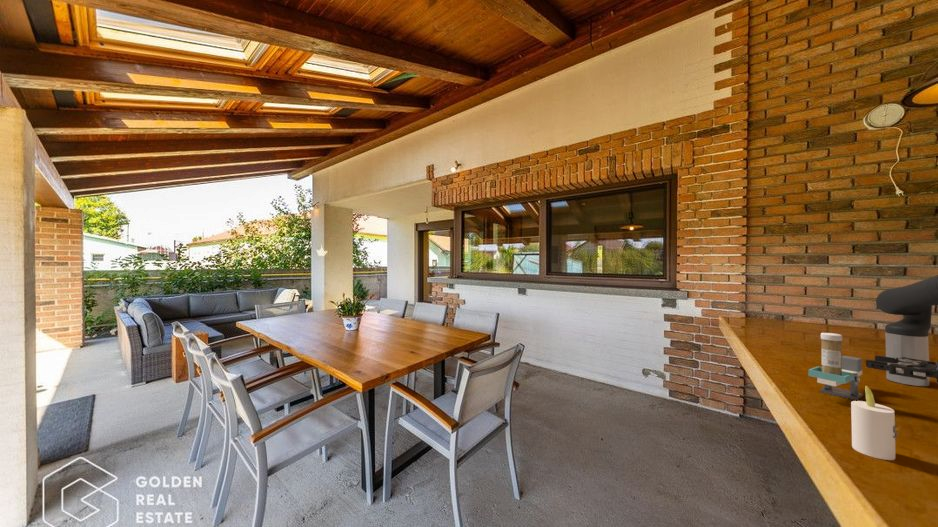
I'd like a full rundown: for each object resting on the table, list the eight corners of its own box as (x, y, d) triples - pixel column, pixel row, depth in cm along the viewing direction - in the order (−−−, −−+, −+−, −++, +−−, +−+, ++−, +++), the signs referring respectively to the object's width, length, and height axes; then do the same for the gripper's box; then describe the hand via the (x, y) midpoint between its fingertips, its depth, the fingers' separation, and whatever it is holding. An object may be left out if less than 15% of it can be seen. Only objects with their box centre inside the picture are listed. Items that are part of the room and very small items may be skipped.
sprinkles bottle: (843, 377, 102) (843, 334, 102) (841, 379, 100) (841, 335, 100) (822, 373, 106) (822, 331, 106) (819, 375, 103) (819, 333, 103)
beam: (836, 370, 117) (836, 354, 117) (871, 376, 110) (871, 359, 110) (808, 381, 104) (808, 363, 105) (845, 389, 97) (845, 370, 97)
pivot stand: (826, 388, 112) (826, 366, 112) (862, 396, 105) (862, 373, 105) (820, 391, 109) (819, 369, 109) (856, 400, 102) (856, 376, 102)
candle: (892, 463, 71) (891, 394, 71) (847, 448, 76) (846, 385, 76) (900, 455, 73) (899, 389, 73) (856, 441, 79) (855, 380, 79)
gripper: (975, 358, 85) (877, 345, 99) (966, 366, 78) (862, 351, 93) (975, 386, 85) (878, 369, 99) (966, 397, 78) (863, 377, 93)
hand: (870, 361), depth 96 cm, fingers open, 8 cm apart
